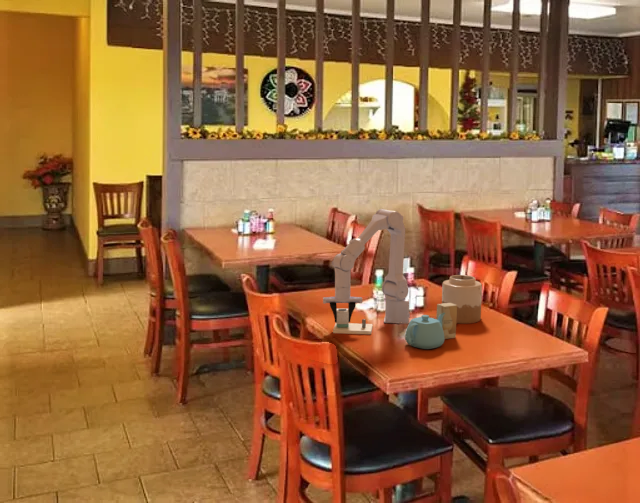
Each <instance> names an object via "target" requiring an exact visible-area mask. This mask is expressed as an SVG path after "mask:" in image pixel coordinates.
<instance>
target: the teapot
mask: <svg viewBox="0 0 640 503" xmlns="http://www.w3.org/2000/svg"><path fill="white" fill-rule="evenodd" d="M444 314H445V313H441V314H440V315H439V317H438V320H436V318H433V317H430V315H428V314H423V315H421V316H419V317H414V318H411V319H410V321H409V323H408V325H407V327H406V330H405V335H404V339H405V342H406V344H407V345H409V346H411V347H414V348H418V349H421V350H431V349H432V350H433V349H436V348H439V347H440V348H441V346H443V344H444V343H445V340H446V339H445V338H444V332H443V328H442V319H443V316H444Z"/></svg>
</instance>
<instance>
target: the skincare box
mask: <svg viewBox="0 0 640 503" xmlns="http://www.w3.org/2000/svg"><path fill="white" fill-rule="evenodd" d="M441 313H445V314H444V316H443V319H442V328H443V332H444V338H445V340H447V339H455V338H456V334H457V333H456V332H457V323H456V318H457V305H455V304H452V303H443V304H442V303H437V304H436V316H435V319H436V320H438V317H439V315H440V314H441Z"/></svg>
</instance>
